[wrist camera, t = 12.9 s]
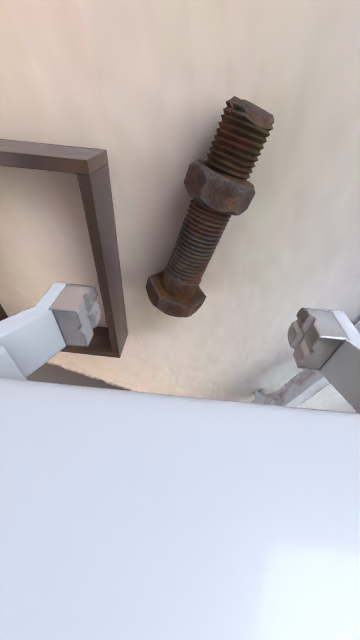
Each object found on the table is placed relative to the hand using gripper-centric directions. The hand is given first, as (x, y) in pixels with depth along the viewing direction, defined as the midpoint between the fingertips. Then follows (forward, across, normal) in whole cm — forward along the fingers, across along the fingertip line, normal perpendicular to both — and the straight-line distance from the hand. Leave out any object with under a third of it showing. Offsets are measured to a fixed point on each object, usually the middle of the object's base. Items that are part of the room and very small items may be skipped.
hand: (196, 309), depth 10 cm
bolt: (+14, -1, +1) cm, 14 cm away
